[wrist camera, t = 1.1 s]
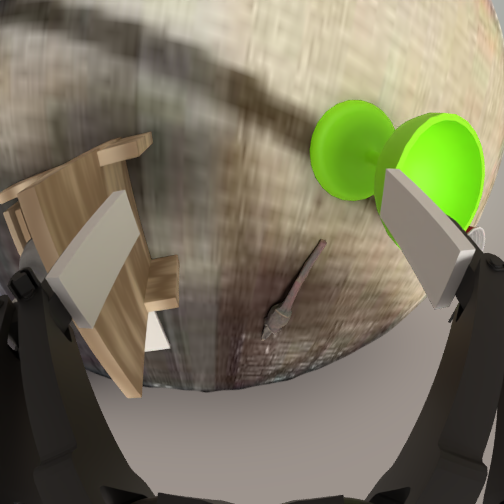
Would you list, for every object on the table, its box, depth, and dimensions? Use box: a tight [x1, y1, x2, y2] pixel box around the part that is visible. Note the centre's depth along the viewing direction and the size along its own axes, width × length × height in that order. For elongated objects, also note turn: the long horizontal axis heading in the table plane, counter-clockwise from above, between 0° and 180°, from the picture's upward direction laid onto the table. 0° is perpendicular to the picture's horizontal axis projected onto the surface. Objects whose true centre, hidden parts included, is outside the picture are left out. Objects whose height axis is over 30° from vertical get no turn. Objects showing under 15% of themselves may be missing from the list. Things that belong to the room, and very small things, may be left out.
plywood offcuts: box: [3, 201, 32, 257], centre depth 31 cm, size 5×12×4 cm, turn 5°
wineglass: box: [310, 100, 485, 248], centre depth 30 cm, size 16×16×18 cm
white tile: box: [145, 311, 170, 352], centre depth 44 cm, size 14×14×1 cm
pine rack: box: [0, 132, 179, 398], centre depth 25 cm, size 24×20×22 cm
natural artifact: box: [262, 239, 327, 341], centre depth 47 cm, size 4×23×4 cm
